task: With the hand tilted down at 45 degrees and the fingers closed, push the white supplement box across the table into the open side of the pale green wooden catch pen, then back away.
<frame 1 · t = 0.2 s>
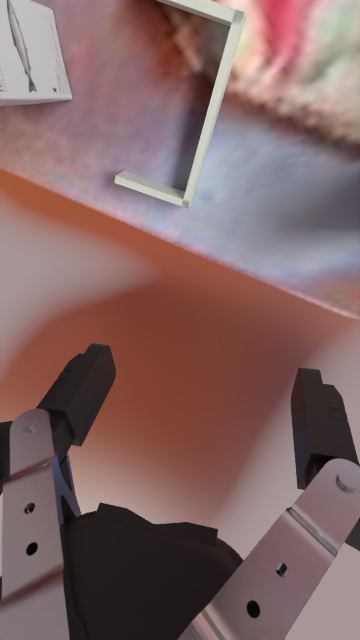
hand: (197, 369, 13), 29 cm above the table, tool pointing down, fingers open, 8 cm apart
catch pen: (158, 105, 32), on the table
supplement box: (35, 60, 33), on the table
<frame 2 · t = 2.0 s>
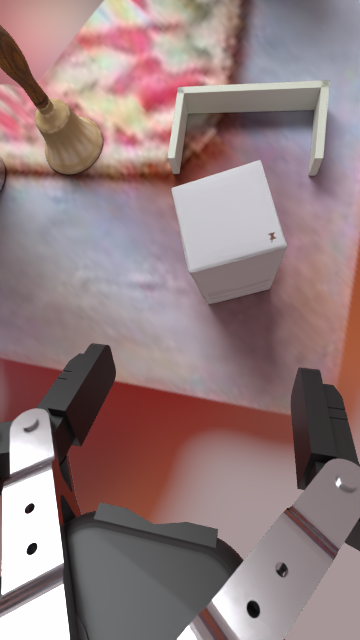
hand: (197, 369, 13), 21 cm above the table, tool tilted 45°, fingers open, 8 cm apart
hand bell: (75, 147, 41), on the table
catch pen: (243, 153, 36), on the table
supplement box: (230, 268, 35), on the table
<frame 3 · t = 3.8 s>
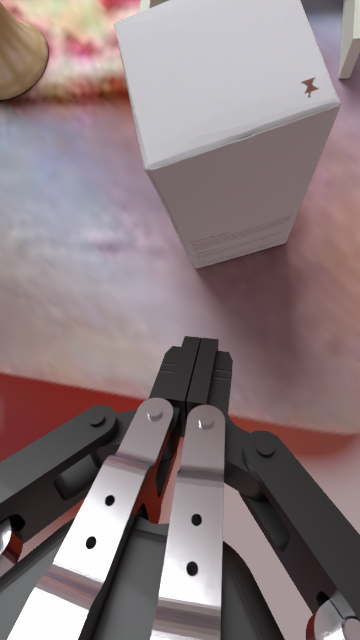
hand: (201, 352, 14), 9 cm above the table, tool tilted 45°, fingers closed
hand bell: (12, 64, 30), on the table
catch pen: (243, 55, 25), on the table
supplement box: (226, 216, 24), on the table
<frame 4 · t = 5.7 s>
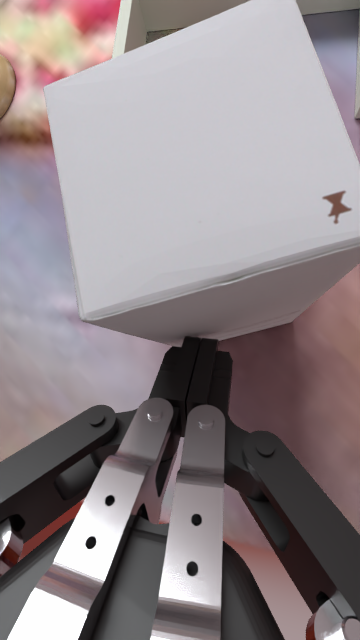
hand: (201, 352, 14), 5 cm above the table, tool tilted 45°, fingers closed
catch pen: (239, 88, 21), on the table
supplement box: (220, 283, 20), on the table, touching gripper
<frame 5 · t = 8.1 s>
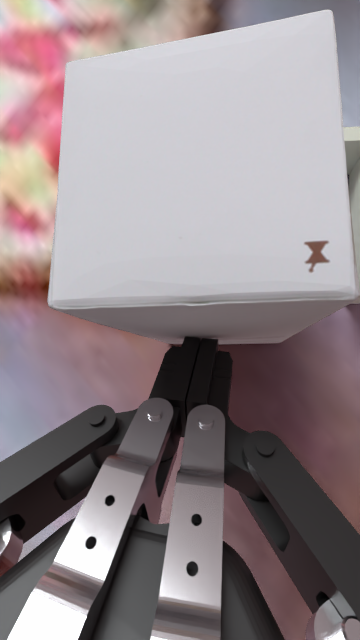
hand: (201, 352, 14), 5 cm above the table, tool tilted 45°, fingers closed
catch pen: (220, 254, 20), on the table
supplement box: (220, 288, 20), on the table, touching gripper
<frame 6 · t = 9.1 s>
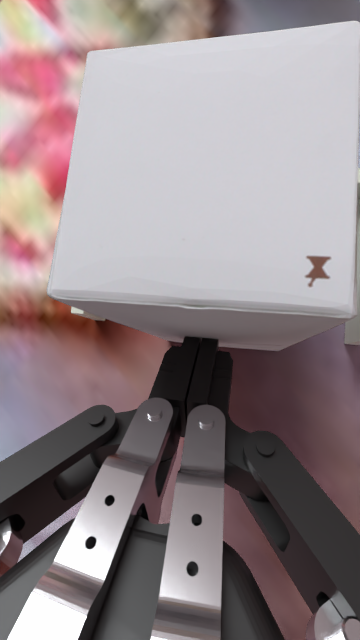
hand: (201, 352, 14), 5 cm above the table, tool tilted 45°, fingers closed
catch pen: (219, 289, 20), on the table
supplement box: (224, 290, 20), on the table, touching gripper
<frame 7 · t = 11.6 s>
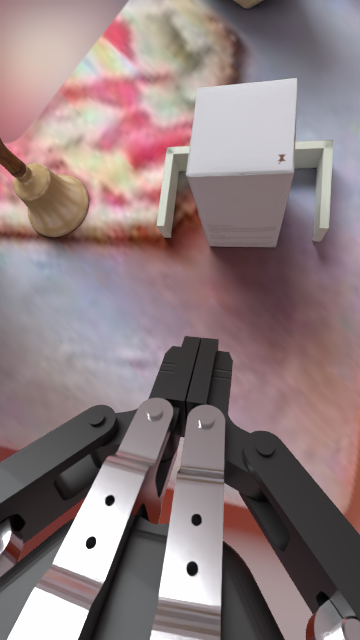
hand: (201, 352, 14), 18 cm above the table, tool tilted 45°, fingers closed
hand bell: (59, 207, 39), on the table
catch pen: (240, 216, 33), on the table
supplement box: (243, 216, 33), on the table
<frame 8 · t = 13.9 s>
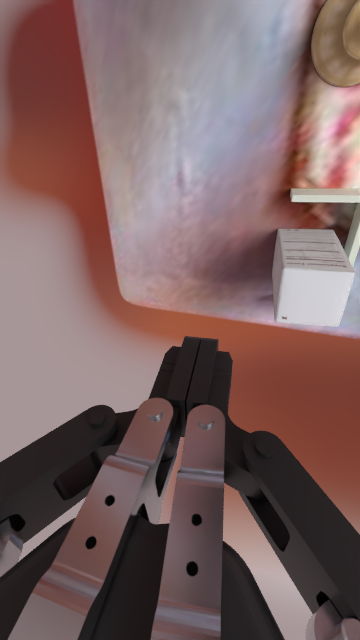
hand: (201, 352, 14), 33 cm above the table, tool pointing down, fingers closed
hand bell: (356, 33, 30), on the table
catch pen: (301, 250, 43), on the table
supplement box: (300, 251, 44), on the table
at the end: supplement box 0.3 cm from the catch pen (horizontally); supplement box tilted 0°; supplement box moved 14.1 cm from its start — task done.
